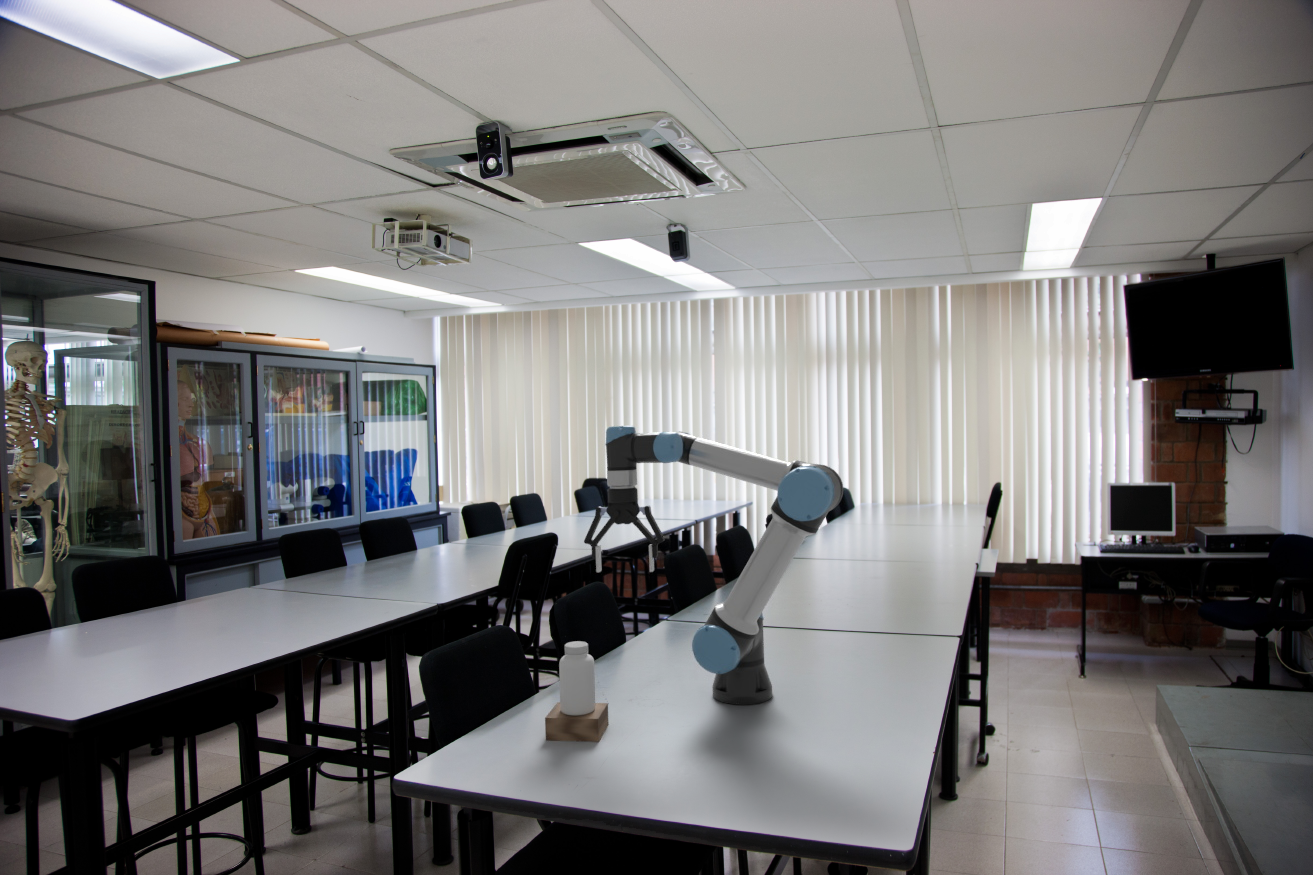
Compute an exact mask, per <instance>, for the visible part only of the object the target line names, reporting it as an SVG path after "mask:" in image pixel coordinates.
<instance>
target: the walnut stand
mask: <svg viewBox="0 0 1313 875" xmlns="http://www.w3.org/2000/svg"><path fill="white" fill-rule="evenodd" d="M544 722H545V723H544V725H545V726H544V727H545V730H544V731H545V741H546V742H547V741H548V742H549V741H550V742H552V741H553V742H556V741H557V742H584V743H585V742H592V743H594V742H595V743H599V742H600V741H601V739H602V737H603V735H604V733H605V732H606V730H607V728H608V726H609V704H608V702H595V709H594V711H593V712H591V713H588V714H585V715H577V716H573V715H566V714H564V713H562V712H561V709H560V701H558V702H557V703H555V705H554V706H553V708H552V709H551V710H550V711H549V712H548V714H547V715H546V716H545V717H544Z"/></svg>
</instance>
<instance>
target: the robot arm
mask: <svg viewBox="0 0 1313 875" xmlns="http://www.w3.org/2000/svg"><path fill="white" fill-rule="evenodd" d="M605 448H606V449H605V453H606V467H607V468H606V480H607V482H606V484H607V487H609V488H608V489H607V507H603V506H601V505H600V506H597V507H596V508H595V515H594V518H593V519H592V523H590V527H589V529H588V531H587V533H586V536H585V538H584V540H583V543H584V544H585V545H590V547H591V558H592V559H593V560H594V559H595V566H596V567H595V568H596V569H595V572H596V573H601V572H602V570H603V569H602V545H601V544H599V543H600V542H601V540H602V539H603V538H604V537H605V535H606V534H607V532H608V531H609V530H610V529H611V527H612V526H613V525H614V524H616V525H630V524H633V525H634V527H636V528H637V530H639V531H640V532H641V533H642V535H643V536H644V537H645V538H646V539H647V540H648V541H649V543H650V544H649V545H648V558H649V559H648V560H649V562H648V564H649V573H653V572H654V571H655V559H656V558H658V556H659V552H658V551H659V550H658V545H659V544H662V543H663V542H664V541H665V539H666V538H665V536H664V534H663V533H662V531H661V529H660V527H659V526H658V523H657V521H656V520H655V517H654V516H653V514H652V508H651V505H649V504H647V505H645V506H639V502H638V500H639V498H638V488H637V487H636V486H637V485H638V472H637V466H638V465H637V464H657V463H658V464H669V463H670V464H671V463H676V462H678V463H680V464H684V465H688V466H693V467H696V468H699V469H703V470H706V471H709V472H713V473H715V474H719V475H723V476H725V477H728V478H729V477H730V478H733V479H736V480H739V481H743V482H746V483H750V484H752V485H757V486H760V487H763V488H767V489H769V490H773V491H777V496H776V498H775V499H774V502H773V503H772V505H771V507H770V512H771V514H772V519H771V521H770V522H769V523H768V525H767V527H766V529H765V531H764V532H763V534H762V536H761V538H760V540H759V542H758V543H757V545H756V547H755V548H754V549H753V552H752V553H751V555H750V557H749V559H748V561H747V563H746V565H745V566H744V568H743V570H742V571H741V573H740V575H739V576H738V578H737V580H736V582H735V583H734V585H733V587H732V589H731V590H730V593H729V594H728V596H727V598H726V599H725V601H723V602H719V603H717V604H715V606H714V608H713V609H712V611H711V613H710V614H709V616H708V618H707V620H706V622H705V624H704V625H702V626H700V627H699V628H698V629H697V630H696V633H695V634H694V636H693V638H692V641H691V651H692V652H693V657H694V658H695V661H696V662H697V663H698V665H699V666H700V667H701V668H703V669H704V670H705V671H707V672H709V673H711V674H715V676H714V680H713V683H712V686H711V687H712V697H713V698H714V699H715V700H716V701H718V702H721V703H725V704H730V705H739V706H740V705H742V706H743V705H744V706H745V705H754V704H755V705H756V704H760V703H763V702H767V701H769V700H771V698H772V697H773V684H772V681H771V679H770V676H769V674H768V671H767V668H766V664H765V646H764V644H765V642H764V640H765V639H764V616H763V612H764V610H765V608H766V606H767V605H768V603H769V601H770V600H771V597H772V596H773V594H774V593H775V591H776V589H777V587H778V586H779V584H780V582H781V580H782V579H783V577H784V575H785V573H786V572H787V571H788V568H789V566H790V565H791V563H792V561H793V560H794V558H795V556H796V555H797V553H798V552H799V550H800V548H801V546H802V544H803V543H804V541H805V539H806V538H807V537H808V536H809V537H810V536H813V535H816V534H817V532H818V530H819V528H821V525H822V523H823V522H824V520H825V519H826V517H827V515H828V513H829V512H830V511H832V510H834V509H835V508H837V506H838V505H839V504H840V502H841V501H842V498H843V495H844V484H843V480H842V478H841V476H840V475H839V473H837V471H836V470H835V469H833V468H831V466H827V465H825V464H817V463H810V462H806V461H802V460H797V459H795V460H792V461H791V462H789V461H785V460H782V459H778V458H775V457H771V456H767V455H763V454H759V453H756V452H752V451H749V450H745V449H741V448H739V447H734V446H731V445H727V444H723V443H719V442H716V441H713V440H708V439H705V438H701V437H697V436H694V435H692V434H691V433H689V432H683V431H661V432H660V431H659V432H657V431H656V432H644V433H643V432H641V433H640V432H637V431H636V427H635V426H634V425H621V426H620V425H616V426H615V425H614V426H609V427H607V429H606V431H605ZM640 512H641V513H642V515H644V516H645V518H646V520H647V522H648V524H649V526H650V528H651V529H652V531H653V533H654V535H655V536H654V535H653V534H652V532H650V530H649V529H648V528H647V527H646V526H645V525H644V523H643V522H642V521H641V519H639V517H638V515H639V514H640ZM605 513H606V514H607V515H608V516H609V519H608V520H607V522H606V523H605V525H604V526H603V527H602V529H601V530H600V531H599V532H598V533H597V534H596V536H595V537H594V534H595V532H596V529H597V528H598V526H599V523H600V522H601V519H602V517H603V516H604V515H605ZM593 537H594V538H593Z"/></svg>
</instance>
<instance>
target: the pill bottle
mask: <svg viewBox="0 0 1313 875" xmlns="http://www.w3.org/2000/svg"><path fill="white" fill-rule="evenodd" d="M558 667H559V668H558V669H559V702H560V709H561V712H562V713H564V714H566V715H573V716H577V715H585V714H588V713H591V712H593V711H594V709H595V703H596V677H595V675H596V674H595V673H596V672H595V670H596V667H595V659H594V657H593V656H592V655H591V654H589V643H587V642H586V641H581V640H577V641H576V640H575V641H569V642H566V643H565V644H564V655H563V656H561V658H560V659H559V664H558Z"/></svg>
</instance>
